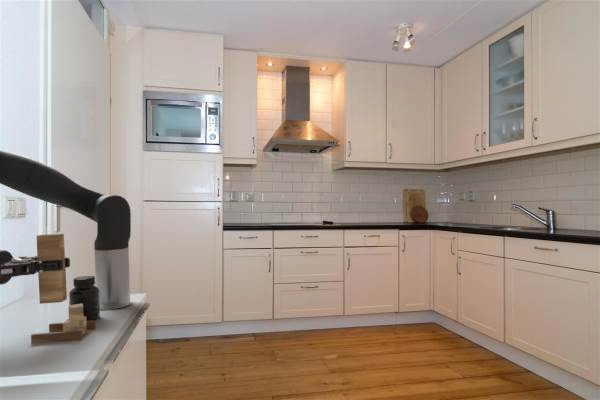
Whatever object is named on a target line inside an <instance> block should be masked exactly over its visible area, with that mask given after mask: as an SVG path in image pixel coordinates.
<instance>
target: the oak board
mask: <svg viewBox="0 0 600 400" xmlns="http://www.w3.org/2000/svg"><path fill="white" fill-rule="evenodd" d="M36 249H37V250H36V253H37V255H36V256H37V258H38V261H39V260H43V263H44V261H48V260H63V269H62V270H55V271H44V272H42V273H39V272H37V273H38V275H37V276H38V293H39V294H38V295H39V304H55V303H57V304H58V303H63V302H64V301H66V300H67V299H68V295H67V294H68V292H67V275H66V268H65V258H66V254H65V233H52V234H51V233H50V234H48V233H47V234H38V235H36Z"/></svg>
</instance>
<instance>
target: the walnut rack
mask: <svg viewBox="0 0 600 400" xmlns="http://www.w3.org/2000/svg"><path fill="white" fill-rule="evenodd" d="M86 328H87V332H86V333H84V334H83V332H82V331H68V332H63V322H51V323H49V324H48V332H41V333H40V332H39V333H32V334H30V344H32V345H33V344H46V343H47V344H49V343H60V342H61V343H63V342H76V341H82V340H83V339H85V338H86V337H87V336H88V335H90V334H91V333H92V332H93V331H95V330H96V329H97V320H95V321H86Z"/></svg>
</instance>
